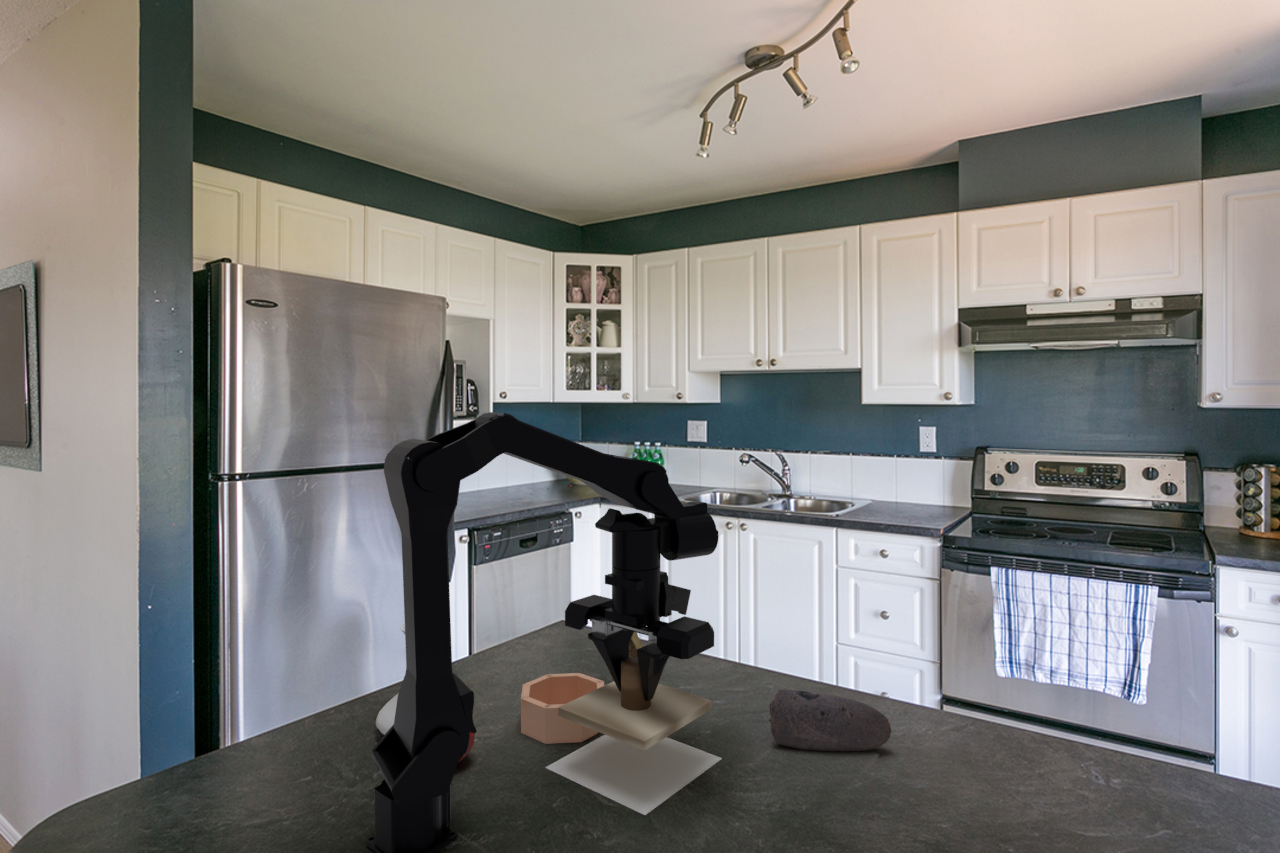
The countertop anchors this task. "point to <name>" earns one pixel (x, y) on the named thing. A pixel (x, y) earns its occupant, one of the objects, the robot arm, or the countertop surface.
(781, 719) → the perforated stone tool
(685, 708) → the board
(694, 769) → the mat
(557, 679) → the octagonal clay planter
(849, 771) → the countertop surface
